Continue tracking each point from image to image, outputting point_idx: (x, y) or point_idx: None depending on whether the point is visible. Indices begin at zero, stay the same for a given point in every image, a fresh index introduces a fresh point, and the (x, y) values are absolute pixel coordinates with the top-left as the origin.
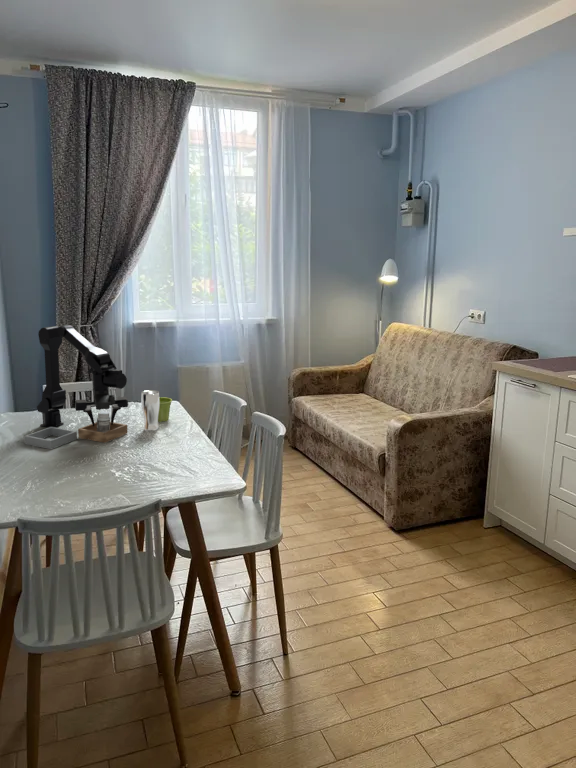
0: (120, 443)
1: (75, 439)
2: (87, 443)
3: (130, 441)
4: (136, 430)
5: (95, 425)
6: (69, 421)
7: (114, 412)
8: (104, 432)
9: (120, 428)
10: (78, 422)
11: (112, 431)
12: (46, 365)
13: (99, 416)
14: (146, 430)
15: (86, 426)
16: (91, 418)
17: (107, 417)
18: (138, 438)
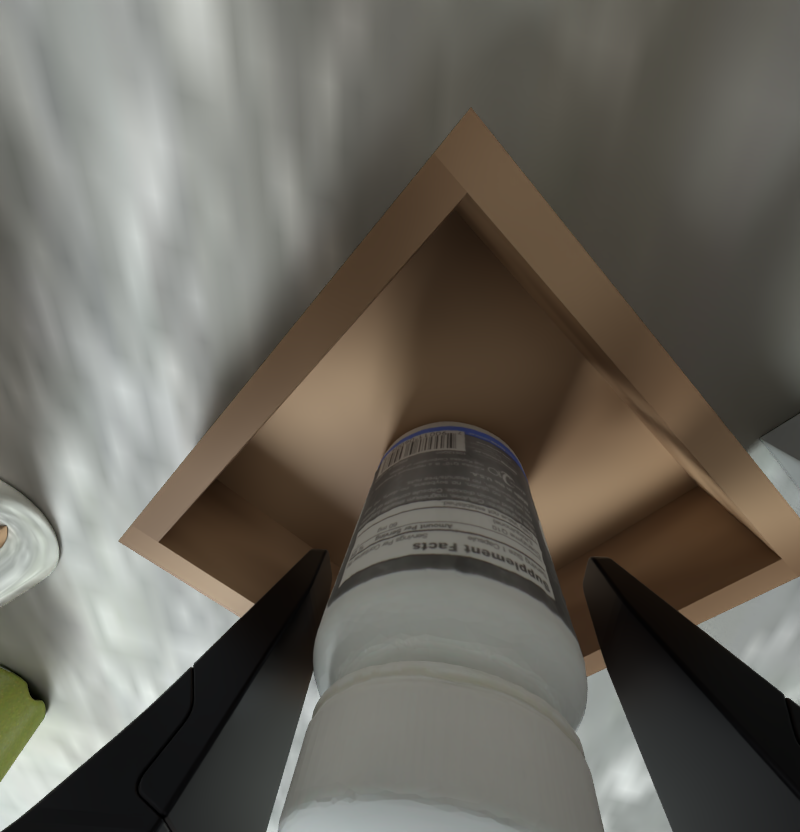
0: (224, 42)
1: (790, 422)
2: (704, 210)
3: (89, 118)
4: (122, 530)
5: None
6: (641, 820)
7: (75, 829)
8: (439, 437)
9: (200, 441)
10: None
11: (311, 305)
12: None
13: (569, 739)
14: (5, 488)
15: None
16: (768, 708)
17: (353, 675)
18: (16, 241)
